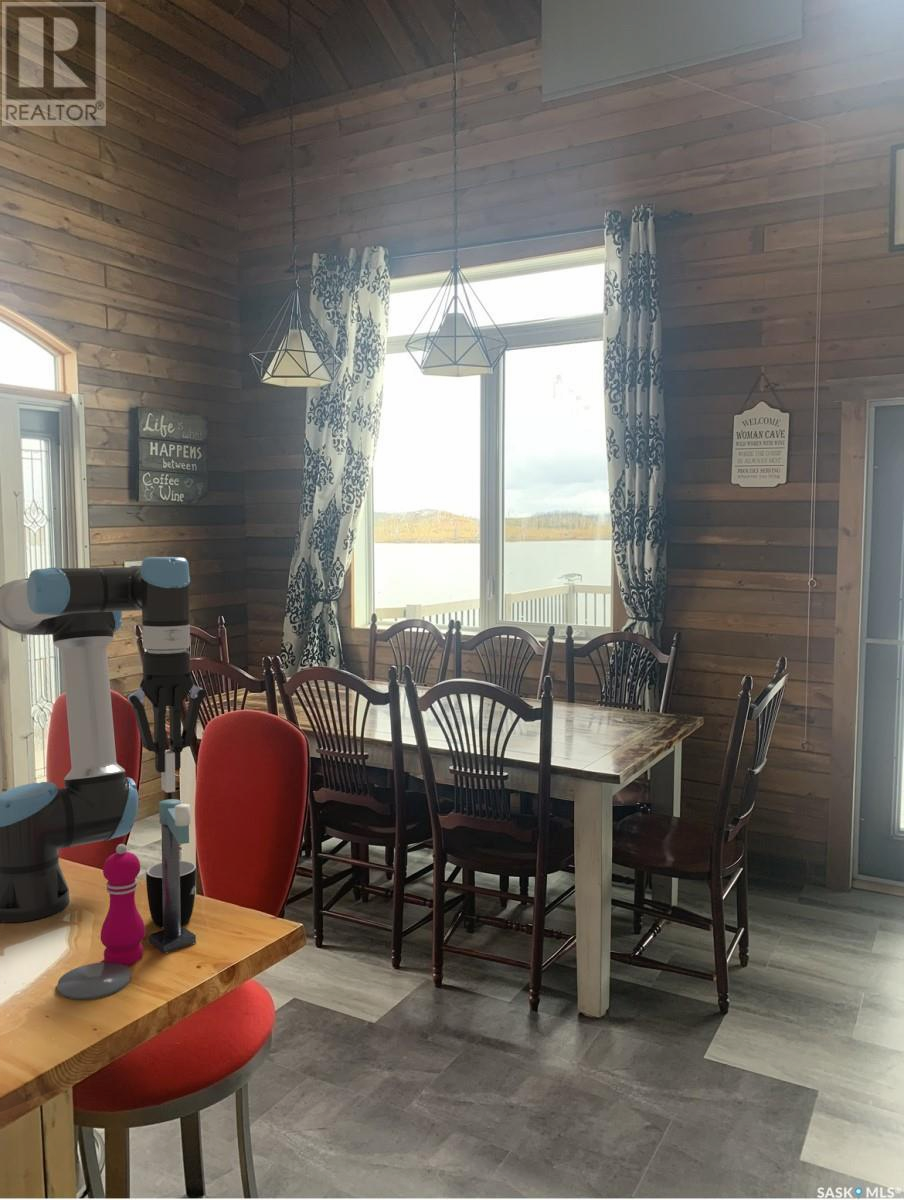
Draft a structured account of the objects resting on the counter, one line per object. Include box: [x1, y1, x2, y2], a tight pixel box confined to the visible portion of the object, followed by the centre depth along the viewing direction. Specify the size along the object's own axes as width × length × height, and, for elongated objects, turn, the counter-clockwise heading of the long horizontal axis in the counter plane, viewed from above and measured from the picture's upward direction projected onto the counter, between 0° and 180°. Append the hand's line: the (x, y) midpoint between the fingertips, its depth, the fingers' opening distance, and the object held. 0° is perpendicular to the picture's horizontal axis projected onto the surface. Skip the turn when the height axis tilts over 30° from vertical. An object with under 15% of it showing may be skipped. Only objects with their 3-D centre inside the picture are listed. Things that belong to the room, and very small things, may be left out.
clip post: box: [147, 824, 197, 955], centre depth 162 cm, size 6×6×22 cm
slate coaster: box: [57, 962, 132, 1001], centre depth 148 cm, size 11×11×1 cm
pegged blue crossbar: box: [158, 798, 191, 845], centre depth 156 cm, size 15×4×6 cm, turn 27°
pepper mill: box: [100, 843, 146, 967], centre depth 156 cm, size 7×7×20 cm
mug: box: [145, 860, 197, 928], centre depth 173 cm, size 12×9×10 cm
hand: (168, 789), depth 153 cm, fingers closed
